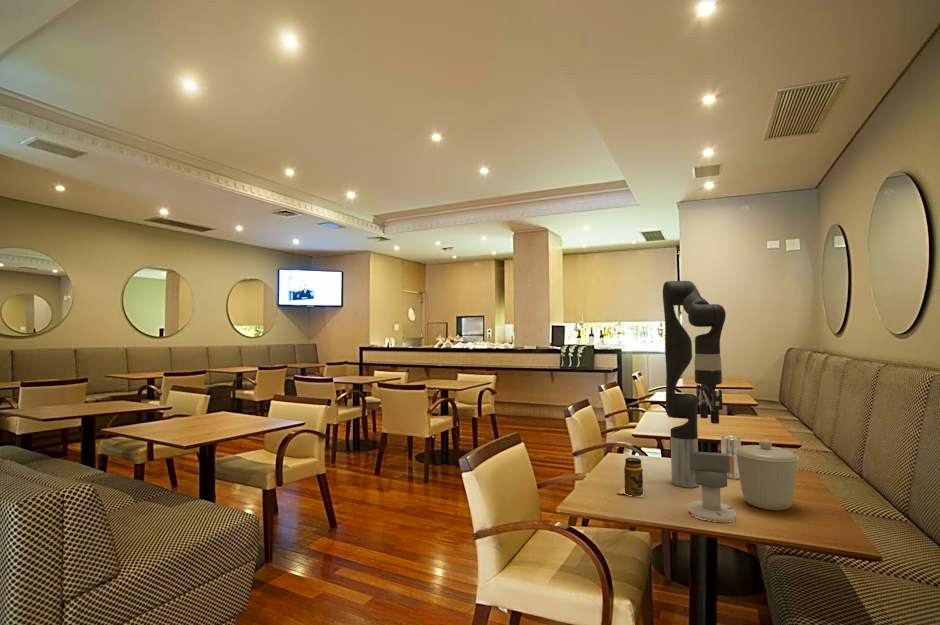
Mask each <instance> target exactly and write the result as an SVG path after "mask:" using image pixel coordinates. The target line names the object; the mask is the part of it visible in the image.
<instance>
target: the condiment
mask: <svg viewBox="0 0 940 625" xmlns="http://www.w3.org/2000/svg"><path fill="white" fill-rule="evenodd" d="M624 461H625V463H624V467H623V470H624V472H623V473H624V488H625V493H626V494H628V495H632V496H641V495H643V491H644V478H643V471H644V470H643V467H642V460H641V459H640V458H638V457H626V458H625V460H624ZM644 493H645V494H646V492H645V491H644Z"/></svg>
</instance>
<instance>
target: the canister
mask: <svg viewBox="0 0 940 625" xmlns="http://www.w3.org/2000/svg"><path fill="white" fill-rule="evenodd" d="M734 453H735V454H736V455H737V463H738V469H739V476H740V479H739V482H740V487H741V493H742V496H743V498H744V500H745V502H746V503H747V504H749V505H751V506H753V507H756V508H759V509H762V510H766V511H786V510H788V509H790V508H791V507H792V505H793V502H794V496H795V487H796V479H797V478H796V477H797V476H796V475H797V468H798V467H797V465H798V462H799V461H800V456H799V455H797V454H795V453H794V452H793V451H791V450H789V449H785V448H781V447H776V446H773V442H772V441H770V440H769V439H766V438H765V439H760V440H759V441H758V444H747V445H741V447H739V448H738V449H735V450H734Z"/></svg>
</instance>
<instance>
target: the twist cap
mask: <svg viewBox="0 0 940 625" xmlns="http://www.w3.org/2000/svg"><path fill="white" fill-rule="evenodd" d="M688 459H689V469H690V470H694V471H695V483H697V484H699V486H701V487H702V486H705V487H711V488H720V489H723V488H726V487H728V478H727V473H733V474H734V456H733V455H732V454H724V453H721V452H706V451H698V452H694V451H688Z"/></svg>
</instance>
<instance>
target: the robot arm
mask: <svg viewBox="0 0 940 625" xmlns="http://www.w3.org/2000/svg"><path fill="white" fill-rule="evenodd" d="M662 303H663V313H664V352H665V353H664V354H665V355H664V356H665V371H666V373H665V374H666V375H665V376H666V378H665V380H666V382H665V383H666V384H665V412H666V415H667V417H668V418H672V419H681V420H682V419H684V420H685V419H686V420H687V421H686V422H685V423H683V424H680V425H678V426H677V425H676V426H673V427H672V428H671V429H670V462H671V467H670V468H671V473H670V474H671V484H673V485H675V486H678V487H681V488H689V489H691V488H697V487H699V486H700V485H699V484H697V483H695V471H694V470H690V469H689V459H688V451H694V452H699V444H698V443H699V439H698V438H699V436H698V434H699V433H698V408H699V418H701V419H708V418H710V423H711V424H712V425H715V424H717V425H718V424H719V423H720V411H723V410H724V409H723V408H724V407H723V391H722V389H718V388H717V386H718V385H721V384H722V383H723V379H722V377H723V376H722V375H723V372H722V357H721V336H722V331H723V328H724V324H725V321H726V316H727V315H726V314H727V313H726V310H725V308H724V306H723V305H720V304H719V303H718V304H717V303H715V304H714V303H711V304H710V303H709V302H708V300H706V299H705V298H703V297H702V296H701V294H700V292H699V289H698V288H697V287H696V285H695V283H694V282H693V281H690V280H668V281H665V282H664V283H663V286H662ZM675 306H677V307H678V306H682V308H683V310H684V312H685V313H686V314H687V318H688V319H687V320H688V322H689V324H690V325H691V326H693V327H697V328H700V327H701V328H703V327H704V328H705V327H706V328H709V327H710V330H709V331H708V332H707V333H702V334H698V335H696V336H695V338H694V383H696V388H695V390H696V393H695V394H696V395H695V394H694V393H681V392H678V393H677V392H676V391H675V390H676V386H677V385H678V383H679V380H680V379H681V377H682V375H683V374H684V373H685V370H686V369H687V368H688V367H689V365H690V364H691V362H692V359H693V349H692V348H693V347H692V345H693V344H692V343H693V342H692V338H691V337H690V335H689V334H688V332H687V330H686V329H685V328H684V327H683V325H682V324H681V322H680V320H679V319H678V317H677V314H676V310H675ZM698 406H699V407H698ZM708 406H709V408H708ZM709 410H710V413H709ZM709 414H710V417H709Z"/></svg>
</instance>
